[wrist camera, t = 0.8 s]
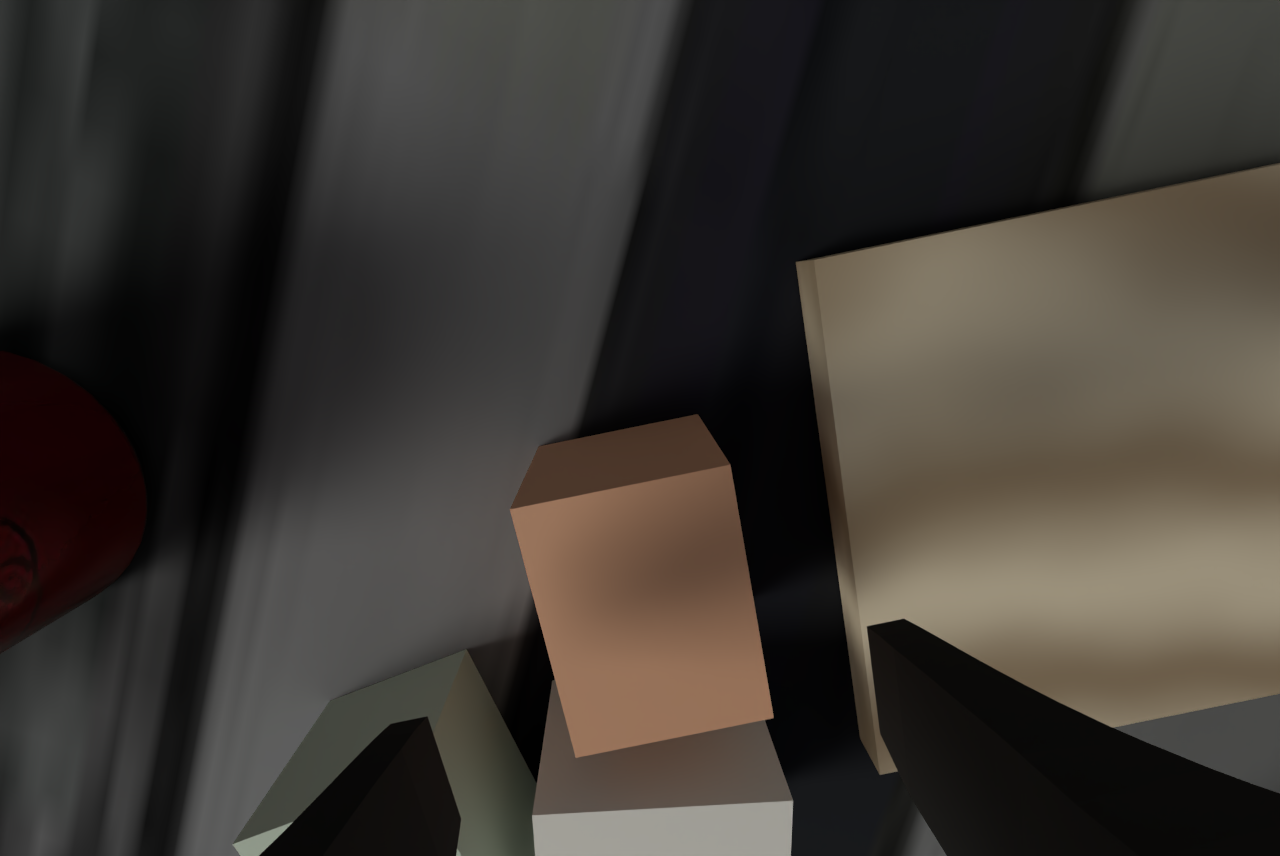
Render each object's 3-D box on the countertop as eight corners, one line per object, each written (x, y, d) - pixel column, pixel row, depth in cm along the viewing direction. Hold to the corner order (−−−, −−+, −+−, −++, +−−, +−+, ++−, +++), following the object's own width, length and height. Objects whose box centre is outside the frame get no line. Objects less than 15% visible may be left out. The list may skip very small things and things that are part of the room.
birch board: (1259, 657, 20) (1311, 686, 18) (859, 738, 20) (880, 774, 18) (1281, 162, 16) (1347, 150, 15) (795, 262, 16) (813, 260, 15)
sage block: (546, 800, 20) (525, 966, 15) (418, 847, 20) (357, 1026, 15) (467, 647, 19) (415, 776, 14) (331, 699, 19) (232, 844, 14)
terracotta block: (731, 604, 19) (774, 718, 14) (585, 633, 19) (575, 757, 14) (697, 413, 17) (730, 464, 12) (539, 445, 17) (510, 509, 12)
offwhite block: (746, 669, 19) (793, 800, 14) (744, 790, 20) (787, 952, 15) (552, 678, 19) (531, 815, 14) (560, 800, 20) (543, 968, 15)
